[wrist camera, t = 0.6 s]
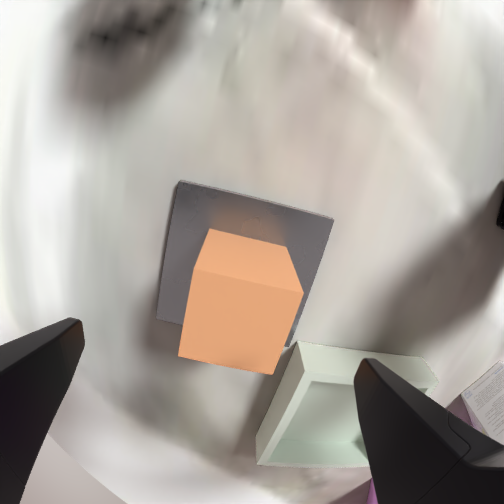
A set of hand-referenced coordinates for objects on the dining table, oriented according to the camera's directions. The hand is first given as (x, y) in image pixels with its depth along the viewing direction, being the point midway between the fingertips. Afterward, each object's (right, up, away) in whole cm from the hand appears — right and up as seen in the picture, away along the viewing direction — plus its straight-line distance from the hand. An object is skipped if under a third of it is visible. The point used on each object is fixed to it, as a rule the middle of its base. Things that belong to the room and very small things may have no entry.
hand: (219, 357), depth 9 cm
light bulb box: (+31, -15, +19) cm, 39 cm away
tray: (+9, -11, +17) cm, 22 cm away
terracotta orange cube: (0, +2, +12) cm, 12 cm away
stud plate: (0, +2, +12) cm, 12 cm away
